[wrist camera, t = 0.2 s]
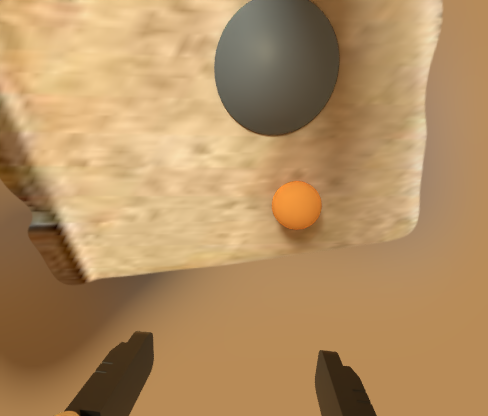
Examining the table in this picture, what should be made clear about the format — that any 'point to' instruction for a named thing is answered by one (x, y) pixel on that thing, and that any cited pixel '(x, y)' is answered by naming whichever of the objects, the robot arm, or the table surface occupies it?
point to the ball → (296, 205)
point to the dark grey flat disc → (276, 65)
